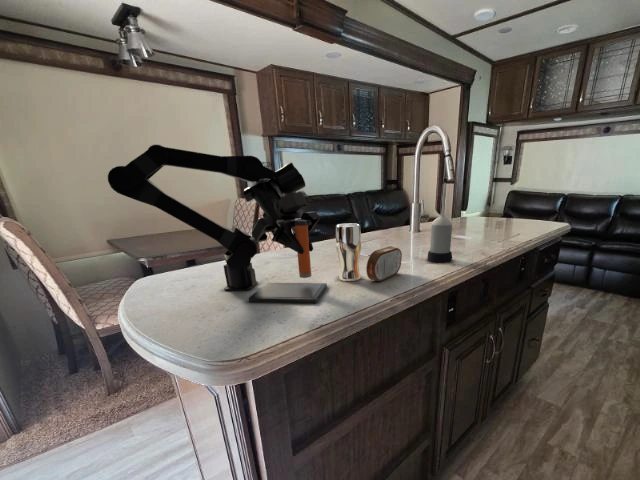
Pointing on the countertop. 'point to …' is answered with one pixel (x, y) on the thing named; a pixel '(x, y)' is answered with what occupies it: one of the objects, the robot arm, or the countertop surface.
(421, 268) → the countertop surface
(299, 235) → the orange cylinder
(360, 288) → the countertop surface
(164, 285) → the countertop surface
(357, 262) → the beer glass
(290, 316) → the countertop surface
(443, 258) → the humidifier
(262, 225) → the robot arm
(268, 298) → the tablet
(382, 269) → the tin
